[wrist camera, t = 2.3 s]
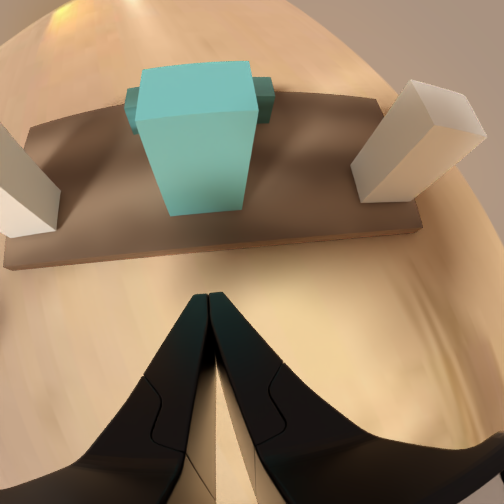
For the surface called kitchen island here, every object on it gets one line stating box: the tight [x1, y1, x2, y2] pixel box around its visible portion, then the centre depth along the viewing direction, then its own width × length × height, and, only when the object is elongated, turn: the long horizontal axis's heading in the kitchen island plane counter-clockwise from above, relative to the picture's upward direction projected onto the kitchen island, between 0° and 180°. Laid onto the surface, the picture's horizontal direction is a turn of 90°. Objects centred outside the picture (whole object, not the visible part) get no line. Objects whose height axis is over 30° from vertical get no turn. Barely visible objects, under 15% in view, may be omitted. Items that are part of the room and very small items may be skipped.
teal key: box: [135, 61, 259, 216], centre depth 14 cm, size 3×4×9 cm
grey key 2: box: [0, 122, 61, 238], centre depth 13 cm, size 3×4×9 cm
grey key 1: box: [350, 79, 487, 203], centre depth 16 cm, size 3×4×9 cm
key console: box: [3, 77, 423, 271], centre depth 19 cm, size 12×31×4 cm, turn 97°
